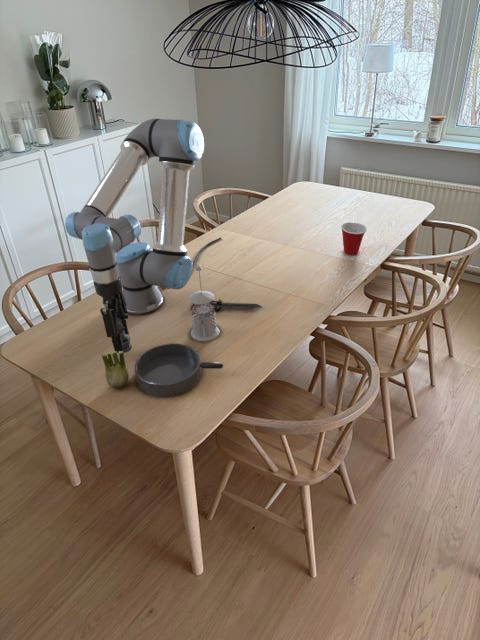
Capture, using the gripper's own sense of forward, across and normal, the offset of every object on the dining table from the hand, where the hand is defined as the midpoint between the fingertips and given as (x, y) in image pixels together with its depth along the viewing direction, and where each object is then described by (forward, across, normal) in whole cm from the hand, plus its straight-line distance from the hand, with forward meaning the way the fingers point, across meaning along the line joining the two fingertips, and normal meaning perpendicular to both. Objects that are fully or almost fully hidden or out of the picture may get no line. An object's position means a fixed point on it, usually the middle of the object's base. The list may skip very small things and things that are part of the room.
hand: (122, 343), depth 146 cm
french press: (+6, -12, +24) cm, 27 cm away
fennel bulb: (+5, +14, +2) cm, 15 cm away
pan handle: (+2, +8, +29) cm, 30 cm away
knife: (+6, -30, +30) cm, 42 cm away
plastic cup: (+7, -74, +80) cm, 109 cm away
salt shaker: (+2, 0, 0) cm, 2 cm away
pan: (+5, +8, +16) cm, 19 cm away
